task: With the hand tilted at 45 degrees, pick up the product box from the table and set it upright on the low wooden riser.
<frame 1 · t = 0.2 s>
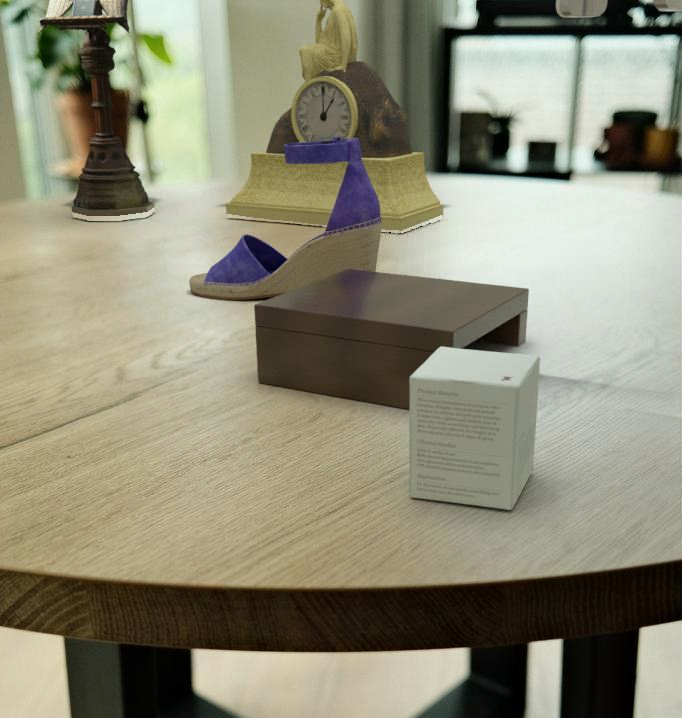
hand: (626, 14, 40), 24 cm above the table, tool pointing down, fingers open, 8 cm apart
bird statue: (116, 219, 148), on the table
product box: (471, 488, 59), on the table
sandal: (283, 296, 103), on the table
low wooden riser: (393, 373, 79), on the table
decorative clock: (333, 220, 145), on the table
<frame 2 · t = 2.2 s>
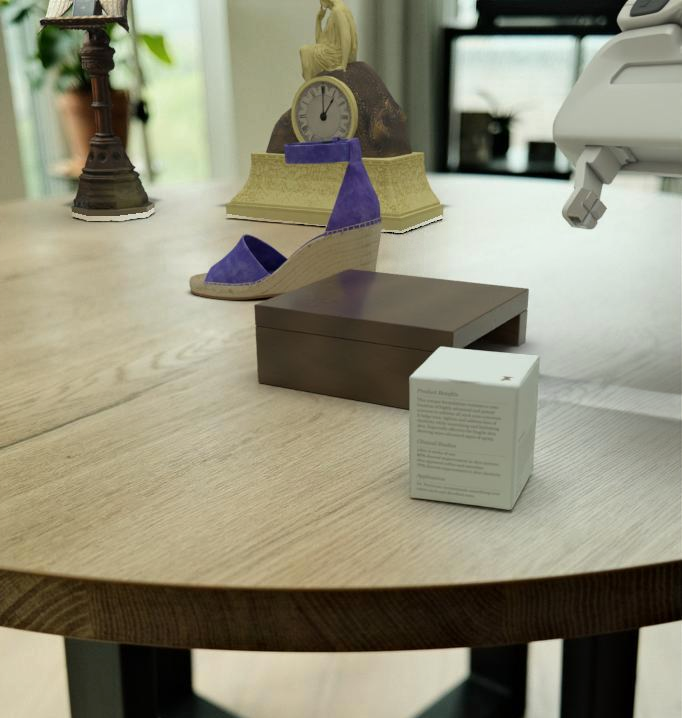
hand: (633, 230, 57), 14 cm above the table, tool tilted 40°, fingers open, 8 cm apart
nothing on the table moved.
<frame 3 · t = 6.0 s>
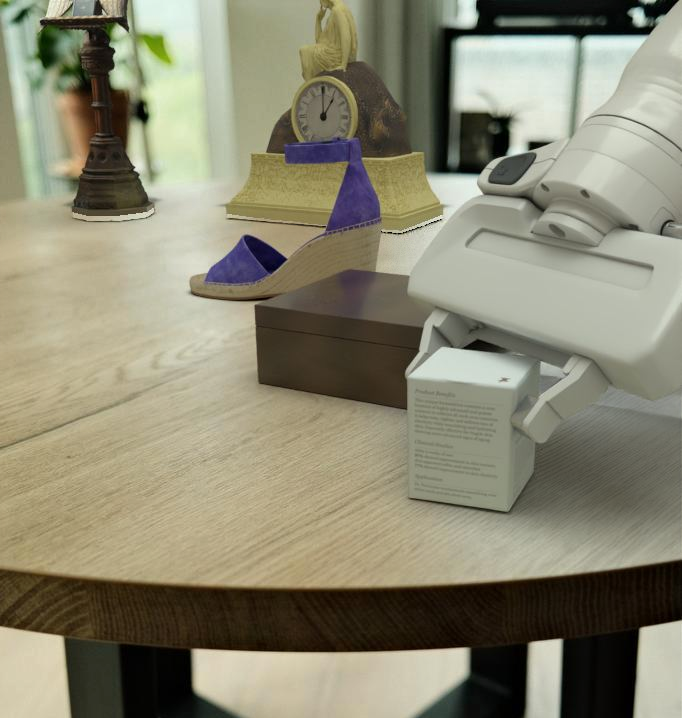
hand: (467, 408, 57), 5 cm above the table, tool tilted 45°, fingers closed on product box, 8 cm apart
product box: (471, 489, 59), on the table, touching gripper
everything else where it was.
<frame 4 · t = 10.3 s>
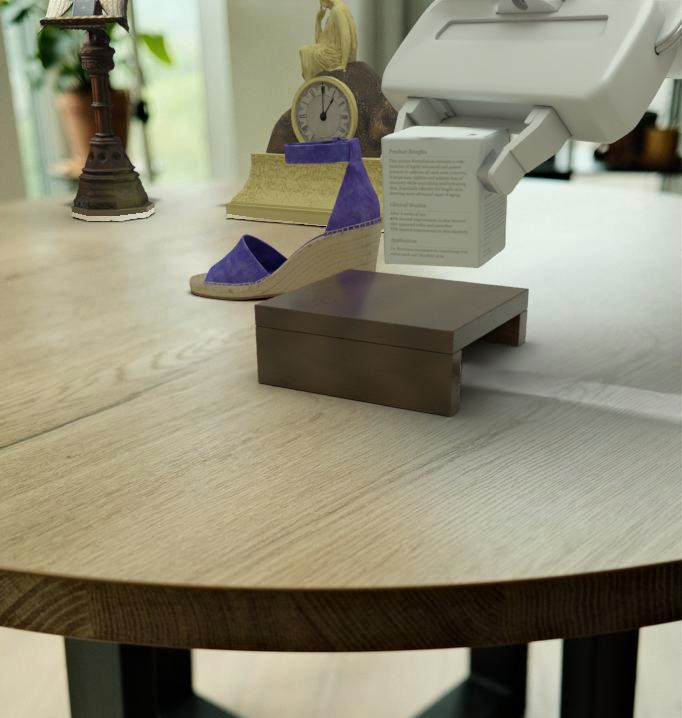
hand: (437, 178, 60), 16 cm above the table, tool tilted 45°, fingers closed on product box, 8 cm apart
product box: (445, 260, 62), point 11 cm above the table, touching gripper
everything else where it was.
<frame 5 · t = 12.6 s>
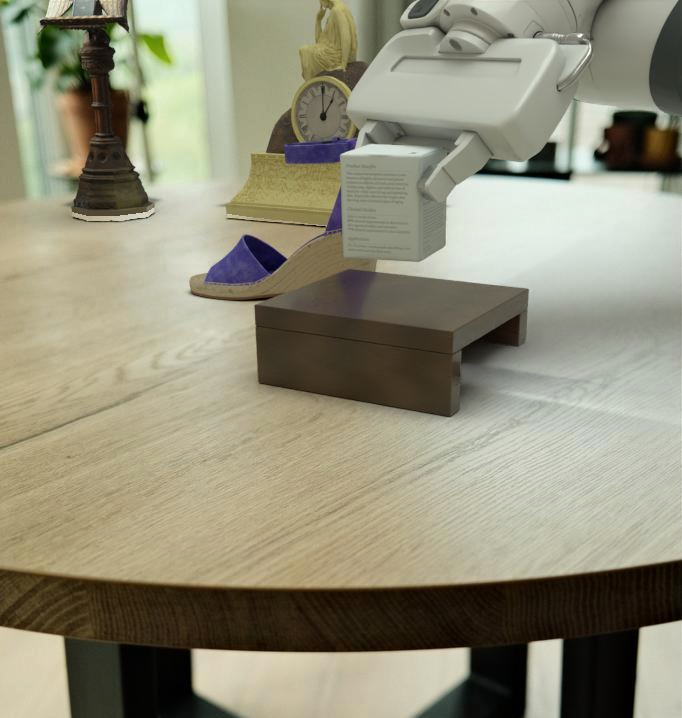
hand: (387, 187, 73), 14 cm above the table, tool tilted 45°, fingers closed on product box, 8 cm apart
product box: (394, 256, 75), point 9 cm above the table, touching gripper
everything else where it was.
when the fingers open (11 cm above the table, at t = 14.7 s): product box stays where it is, resting on low wooden riser.
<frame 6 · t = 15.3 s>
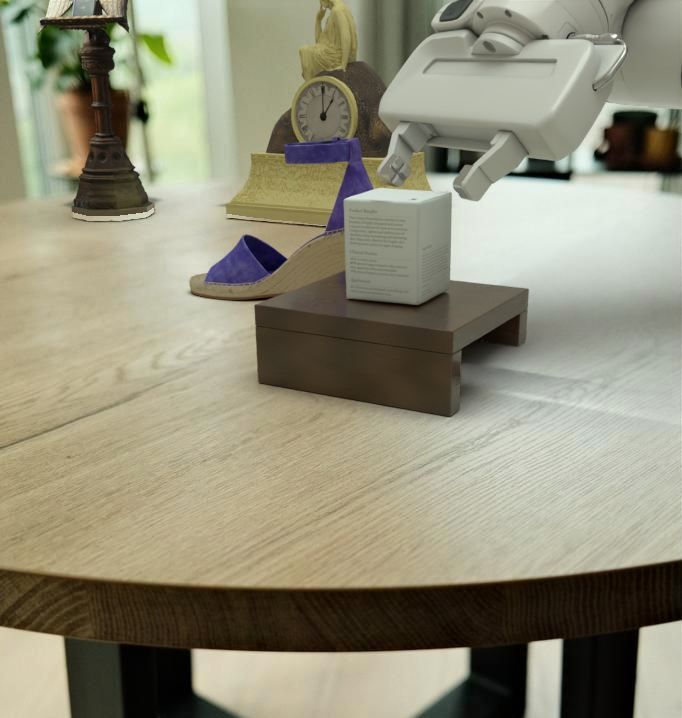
hand: (423, 187, 74), 14 cm above the table, tool tilted 45°, fingers open, 8 cm apart
product box: (398, 297, 77), point 6 cm above the table, touching low wooden riser
everything else where it was.
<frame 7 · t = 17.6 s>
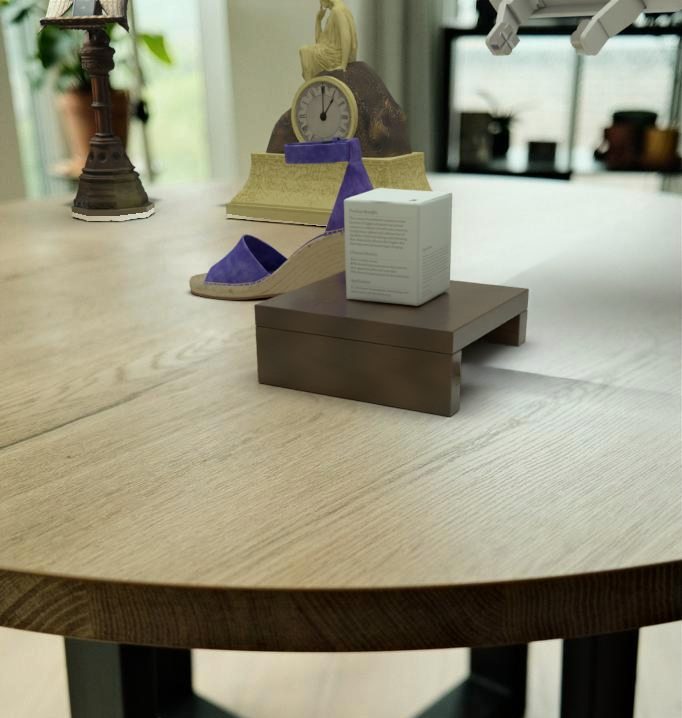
hand: (536, 49, 75), 23 cm above the table, tool tilted 45°, fingers open, 8 cm apart
nothing on the table moved.
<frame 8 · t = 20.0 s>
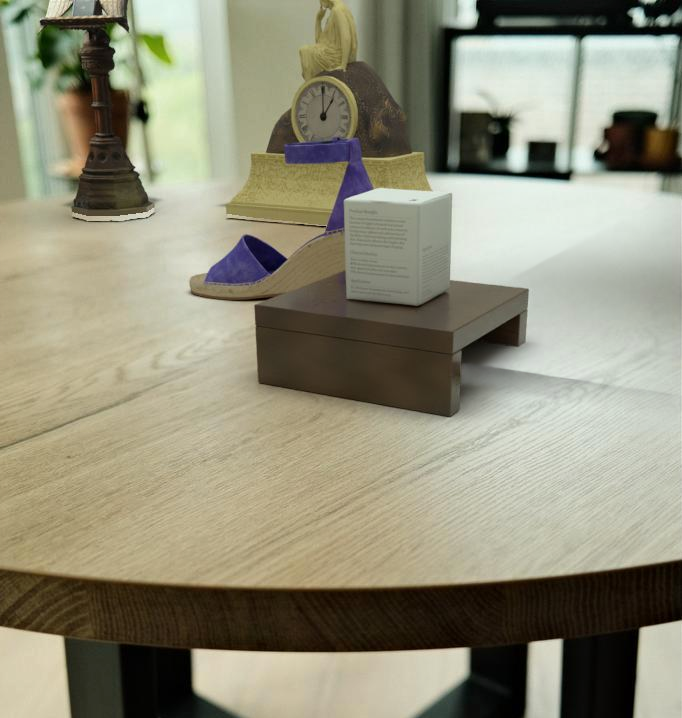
nothing on the table moved.
at the end: product box inside the target area on the low wooden riser (0.4 cm from its centre), point 5.8 cm above the low wooden riser's base; product box tilted 0°; the gripper is holding nothing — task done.
